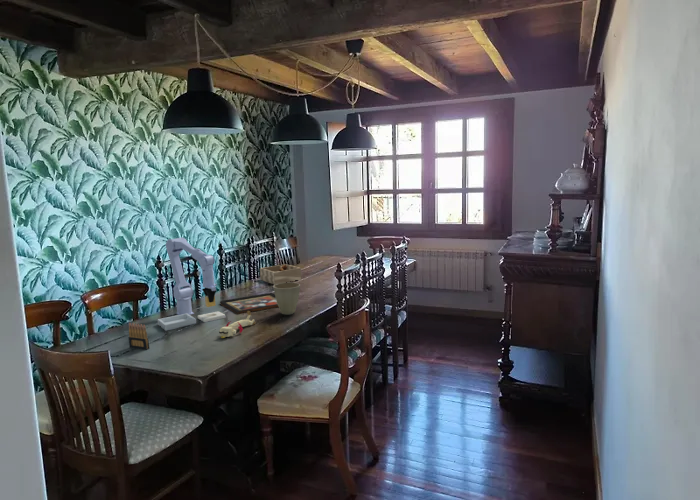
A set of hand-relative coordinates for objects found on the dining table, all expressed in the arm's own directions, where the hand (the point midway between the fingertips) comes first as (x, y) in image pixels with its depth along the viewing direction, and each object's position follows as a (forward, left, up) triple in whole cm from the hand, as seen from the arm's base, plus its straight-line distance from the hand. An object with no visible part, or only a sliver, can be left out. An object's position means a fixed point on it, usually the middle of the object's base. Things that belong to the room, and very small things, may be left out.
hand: (210, 301), depth 264 cm
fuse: (0, 0, -2) cm, 2 cm away
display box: (-62, +77, -10) cm, 99 cm away
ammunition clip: (+22, -43, -10) cm, 49 cm away
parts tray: (-3, -18, -10) cm, 21 cm away
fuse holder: (0, 0, -10) cm, 10 cm away
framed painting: (-11, +32, -11) cm, 35 cm away
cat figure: (+31, +1, -10) cm, 33 cm away
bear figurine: (-59, +76, -10) cm, 97 cm away
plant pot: (+20, +37, -10) cm, 43 cm away
